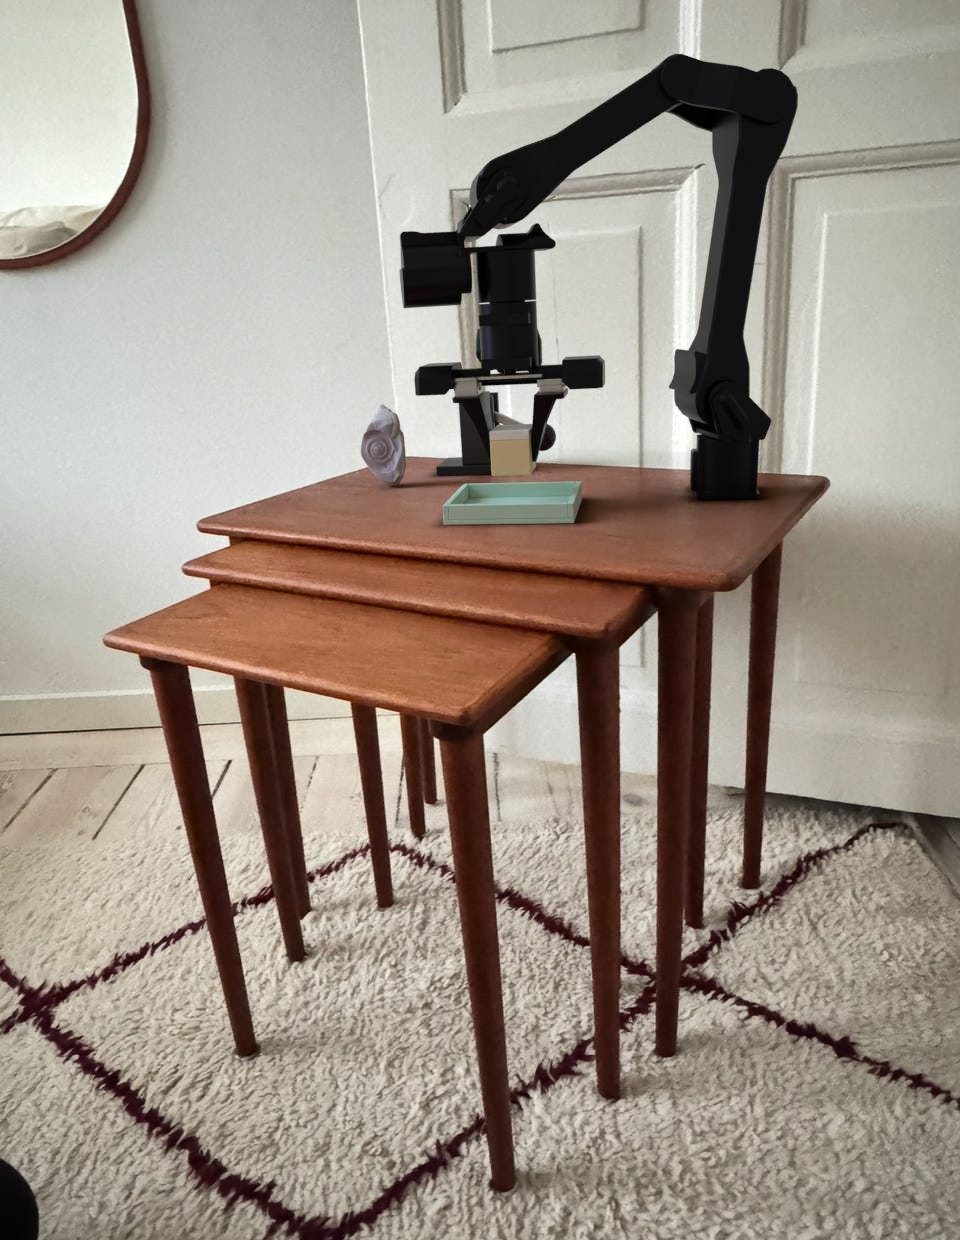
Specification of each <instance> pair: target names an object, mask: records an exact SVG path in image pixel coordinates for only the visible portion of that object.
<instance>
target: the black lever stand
mask: <svg viewBox="0 0 960 1240" xmlns="http://www.w3.org/2000/svg"><path fill="white" fill-rule="evenodd" d="M499 399H500V397H499V392H498V391H493V392H490V412H491V417H492V424H493V429H494V428H495V427H496V426H497V425H501V423H499V422H496V421H495V420H494V411H496V412H499V413H500V402H499V401H500V400H499ZM458 413H459V414H458V415H459V431H460V432H459V433H460V445H461V446H460V447H461V448H460V449H461V456H458V457H457V456H455V457H447V458H445V459H444V460H443V461H442V462H441V463H439V464H438V465H436V468H435V469H436V476H437V477H442V476H443V477H444V476H487V475H491V476H492V471H491V461H490V459H489V457H488V454H487V452H486V450H485V447H484V445H483V443H482V441H481V438H480V436H479V433H478V432H477V429H476V427H475V425H474V424H473V422H472V420H471V419H470V417H469V415H468V413H467V412H466V410H465V408H464V407H463V405H462V404H461V403H458Z"/></svg>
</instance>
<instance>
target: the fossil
mask: <svg viewBox="0 0 960 1240" xmlns="http://www.w3.org/2000/svg"><path fill="white" fill-rule="evenodd" d="M405 442H406V441H405V434H404V432H403V431H402V429H401V422H400V418H399V416H398V414H397V413H395V412H393V411H392V409H391V408H388V407H387V406H386V405H384V404H380V405H379V406H378V408H377V410H376V413H374V415H373V416H372V417H371V419H370V421H368V424H367V426H366V427H365V431H364V433H363V436H362V439H361V444H360V456H361V458H362V460H363V461H364V463H365V465H366V466H367V467H368V469H369V470H370V472H371V473H372V474H373V475H374V476H375V477H376V478H377V479H378V480H379V481H381V482H383V483H384V484H386V485H387V486H390V487H397V486H399V485H400V484H401V481H402V480H403V478H404V477H405V472H406V469H407V458H406V457H407V456H406V445H405Z"/></svg>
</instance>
